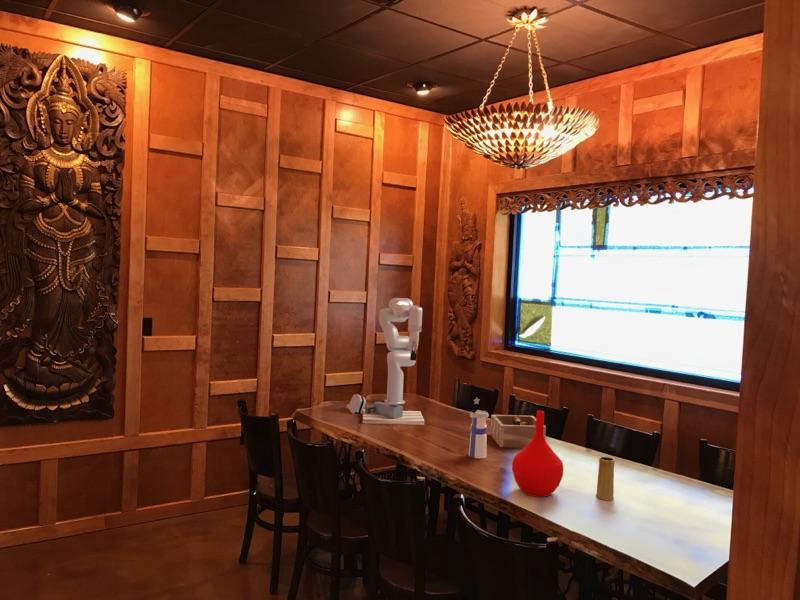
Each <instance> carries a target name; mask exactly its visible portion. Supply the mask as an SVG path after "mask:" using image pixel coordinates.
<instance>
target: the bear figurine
mask: <svg viewBox="0 0 800 600" xmlns="http://www.w3.org/2000/svg"><path fill="white" fill-rule="evenodd" d="M520 416H521V415H518V416H517V417H513V416H511V418H512V423H513V425H526V424H527V422H526V423H525V422H521V421H520V418H519V417H520Z"/></svg>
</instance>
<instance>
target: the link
mask: <svg viewBox="0 0 800 600" xmlns="http://www.w3.org/2000/svg"><path fill="white" fill-rule="evenodd" d="M373 405H374V409H371V411H370V412H371V413H374V414H378V415H382V416H384V417H387V418H390V419H397V418H402V417H403V411H404V405H401V404H388V403H385V402H383V401H374V402H373Z"/></svg>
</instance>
